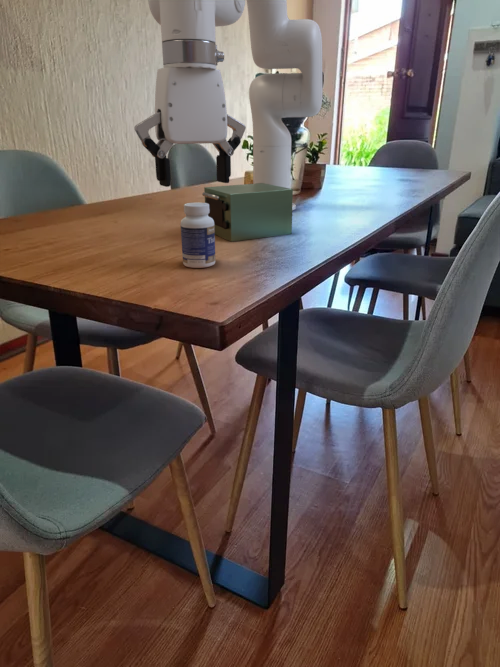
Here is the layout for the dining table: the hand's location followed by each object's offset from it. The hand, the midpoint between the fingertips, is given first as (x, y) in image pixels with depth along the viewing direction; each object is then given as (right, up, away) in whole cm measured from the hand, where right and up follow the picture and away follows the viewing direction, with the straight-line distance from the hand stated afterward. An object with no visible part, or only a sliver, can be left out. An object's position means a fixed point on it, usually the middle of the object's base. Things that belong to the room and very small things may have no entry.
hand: (194, 183), depth 78 cm
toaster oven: (+8, -2, +28) cm, 29 cm away
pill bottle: (0, -12, +5) cm, 13 cm away
